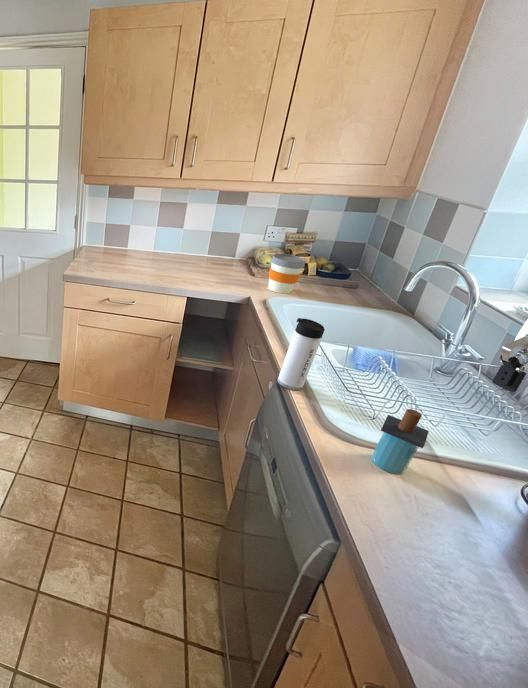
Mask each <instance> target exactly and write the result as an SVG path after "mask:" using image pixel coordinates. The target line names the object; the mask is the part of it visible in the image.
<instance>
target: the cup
mask: <svg viewBox="0 0 528 688" xmlns="http://www.w3.org/2000/svg"><path fill="white" fill-rule="evenodd" d="M382 432H383V431H382ZM419 448H420V447H418V446H415V445H413V444H411V443H408V442H406V441H404V440H401V439H399V438H397V437H394V436H392V435H390V434H387V433H385V432H383V433H382V434H381V436H380V437H379V440H378V442H377V444H376V446H375V448H374V450H373V451H372V454H371V456H370V459H371V462H372V463H373V464H374V465H375V466H377V467H378V468H379V469H381V470H383V471H385V472H388V473H389V474H390V473H391V474H394V475H402V474H404V473H405V472H406V471H407V469H408V467H409V465H410V464H411V461H412V460H413V458H414V456H415V455H416V453H417V452H418V449H419Z"/></svg>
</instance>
